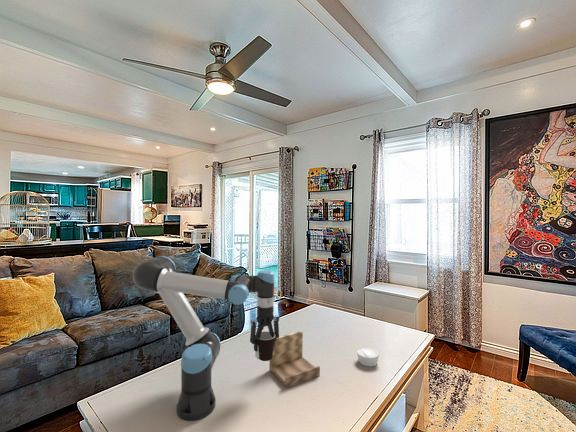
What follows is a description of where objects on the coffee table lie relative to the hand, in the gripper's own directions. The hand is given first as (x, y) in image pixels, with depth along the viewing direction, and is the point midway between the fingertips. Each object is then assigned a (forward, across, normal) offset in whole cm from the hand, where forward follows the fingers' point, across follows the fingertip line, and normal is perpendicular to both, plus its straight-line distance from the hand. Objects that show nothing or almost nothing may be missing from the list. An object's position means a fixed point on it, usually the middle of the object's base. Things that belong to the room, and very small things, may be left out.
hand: (264, 355), depth 130 cm
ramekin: (+14, +57, -9) cm, 60 cm away
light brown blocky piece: (+14, +18, +2) cm, 23 cm away
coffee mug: (+1, +1, 0) cm, 1 cm away
